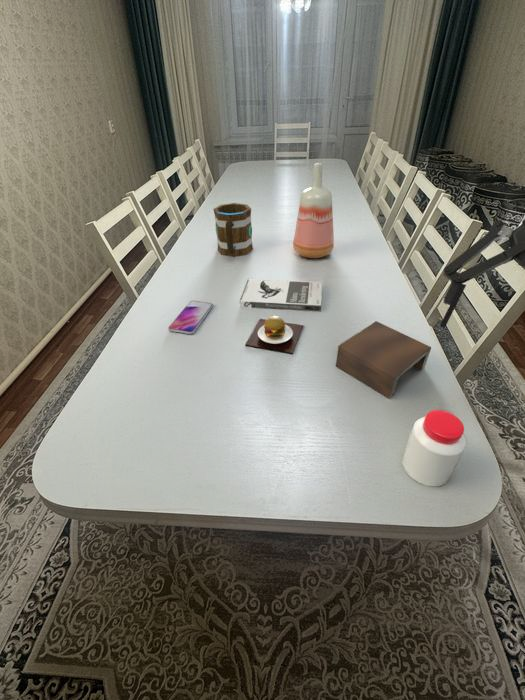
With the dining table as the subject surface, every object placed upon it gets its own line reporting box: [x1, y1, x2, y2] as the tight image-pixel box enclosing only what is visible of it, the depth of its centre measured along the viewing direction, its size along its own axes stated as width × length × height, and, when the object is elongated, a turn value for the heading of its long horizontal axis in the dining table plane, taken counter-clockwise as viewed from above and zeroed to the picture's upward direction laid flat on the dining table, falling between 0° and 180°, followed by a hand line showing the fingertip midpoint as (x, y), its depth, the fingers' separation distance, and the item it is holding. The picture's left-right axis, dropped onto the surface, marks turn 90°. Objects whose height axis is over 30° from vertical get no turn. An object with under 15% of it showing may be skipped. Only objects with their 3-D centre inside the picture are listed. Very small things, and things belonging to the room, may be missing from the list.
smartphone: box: [167, 300, 214, 335], centre depth 99 cm, size 7×1×15 cm
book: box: [239, 278, 323, 313], centre depth 106 cm, size 23×14×2 cm, turn 82°
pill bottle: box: [401, 409, 468, 487], centre depth 58 cm, size 8×8×11 cm
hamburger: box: [244, 315, 304, 355], centre depth 90 cm, size 12×12×6 cm
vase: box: [292, 162, 335, 259], centre depth 122 cm, size 14×14×30 cm
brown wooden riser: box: [335, 320, 432, 399], centre depth 79 cm, size 14×14×6 cm
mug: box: [212, 202, 254, 258], centre depth 129 cm, size 20×14×15 cm
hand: (490, 344), depth 51 cm, fingers open, 13 cm apart
